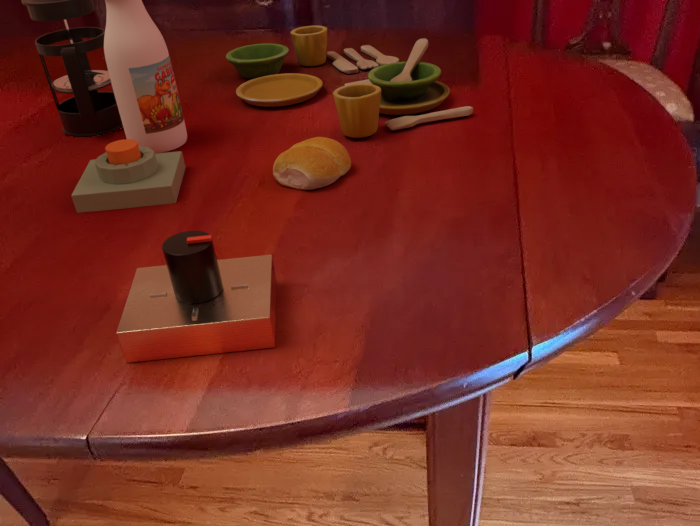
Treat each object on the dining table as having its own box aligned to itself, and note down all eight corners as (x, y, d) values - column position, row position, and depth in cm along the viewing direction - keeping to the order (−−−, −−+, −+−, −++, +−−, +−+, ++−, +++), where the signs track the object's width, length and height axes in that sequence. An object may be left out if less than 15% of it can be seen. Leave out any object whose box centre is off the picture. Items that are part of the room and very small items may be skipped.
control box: (77, 213, 80) (65, 179, 78) (95, 176, 88) (85, 145, 86) (176, 204, 81) (167, 170, 78) (185, 168, 89) (178, 136, 86)
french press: (65, 118, 106) (6, -62, 92) (131, 109, 107) (82, -71, 93) (59, 147, 97) (-7, -48, 83) (130, 136, 98) (77, -58, 84)
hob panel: (126, 363, 58) (115, 331, 56) (145, 296, 66) (136, 266, 64) (275, 347, 58) (269, 315, 56) (276, 282, 66) (271, 252, 64)
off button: (106, 167, 81) (102, 152, 80) (112, 155, 84) (108, 140, 82) (138, 164, 81) (134, 149, 80) (143, 152, 84) (139, 137, 83)
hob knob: (172, 306, 59) (157, 254, 56) (177, 280, 62) (164, 229, 59) (221, 300, 59) (209, 248, 56) (224, 275, 62) (213, 224, 59)
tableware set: (483, 118, 95) (485, 68, 91) (279, 160, 88) (272, 108, 84) (373, 45, 126) (370, 5, 122) (215, 72, 119) (208, 31, 115)
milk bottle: (128, 159, 92) (79, -16, 80) (130, 137, 98) (85, -28, 85) (189, 150, 93) (150, -24, 80) (188, 130, 99) (151, -35, 86)
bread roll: (362, 164, 86) (359, 131, 83) (323, 196, 80) (319, 161, 77) (303, 155, 89) (299, 123, 87) (262, 184, 83) (256, 151, 81)
